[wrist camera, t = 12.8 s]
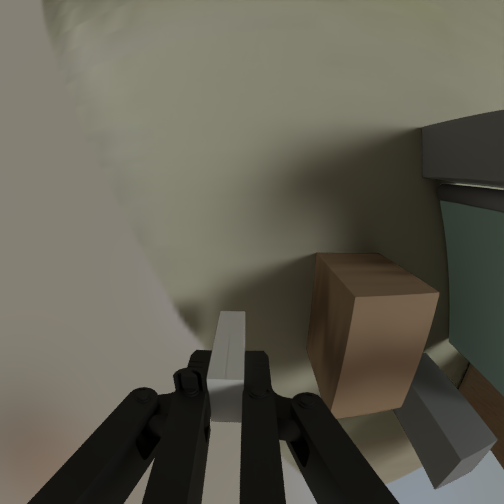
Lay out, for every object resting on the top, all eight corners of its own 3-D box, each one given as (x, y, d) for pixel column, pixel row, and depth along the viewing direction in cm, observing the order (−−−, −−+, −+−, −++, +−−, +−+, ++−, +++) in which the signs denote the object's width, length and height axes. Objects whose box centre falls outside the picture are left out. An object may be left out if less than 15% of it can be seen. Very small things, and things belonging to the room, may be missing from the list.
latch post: (392, 358, 22) (461, 460, 9) (425, 352, 22) (497, 439, 9) (382, 390, 23) (434, 489, 10) (414, 383, 23) (471, 470, 10)
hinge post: (421, 127, 17) (554, 103, 4) (456, 137, 17) (578, 129, 4) (422, 176, 18) (562, 190, 5) (456, 183, 18) (582, 202, 5)
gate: (435, 186, 18) (534, 199, 8) (447, 182, 18) (544, 193, 8) (447, 342, 21) (505, 400, 11) (457, 336, 21) (516, 391, 11)
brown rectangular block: (316, 252, 19) (355, 297, 12) (378, 253, 19) (439, 292, 12) (306, 348, 21) (328, 419, 14) (362, 345, 21) (401, 407, 14)
